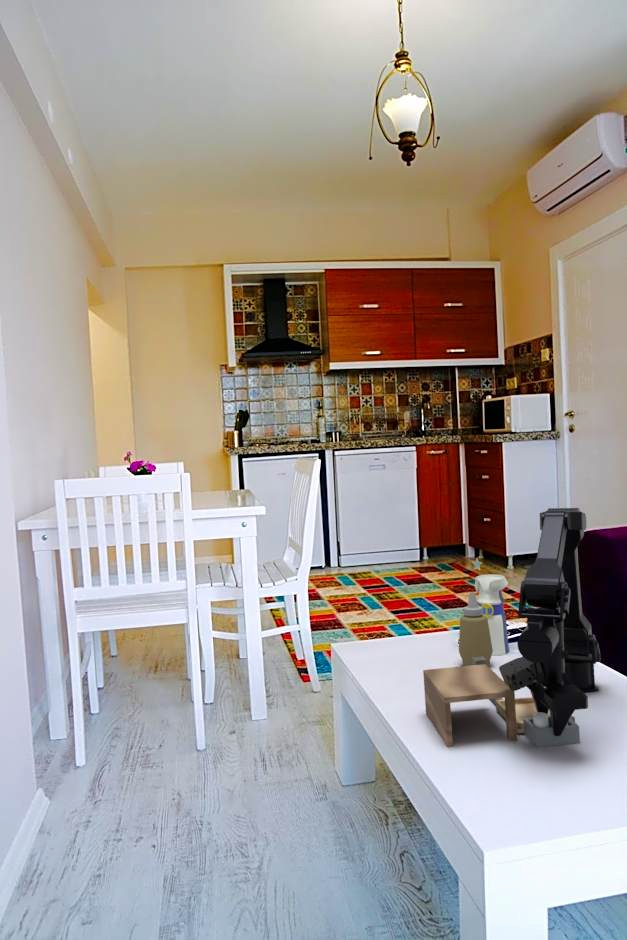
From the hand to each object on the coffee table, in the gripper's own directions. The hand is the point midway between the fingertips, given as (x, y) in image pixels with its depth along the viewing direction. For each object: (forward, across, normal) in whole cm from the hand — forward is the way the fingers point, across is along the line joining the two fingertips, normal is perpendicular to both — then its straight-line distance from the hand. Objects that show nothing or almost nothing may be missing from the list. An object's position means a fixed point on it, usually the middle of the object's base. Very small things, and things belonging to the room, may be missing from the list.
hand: (549, 727), depth 125 cm
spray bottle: (+5, -52, +8) cm, 53 cm away
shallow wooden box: (+2, -16, 0) cm, 16 cm away
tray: (+2, 0, 0) cm, 2 cm away
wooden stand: (+2, -8, -12) cm, 15 cm away
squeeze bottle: (+4, -42, 0) cm, 43 cm away
